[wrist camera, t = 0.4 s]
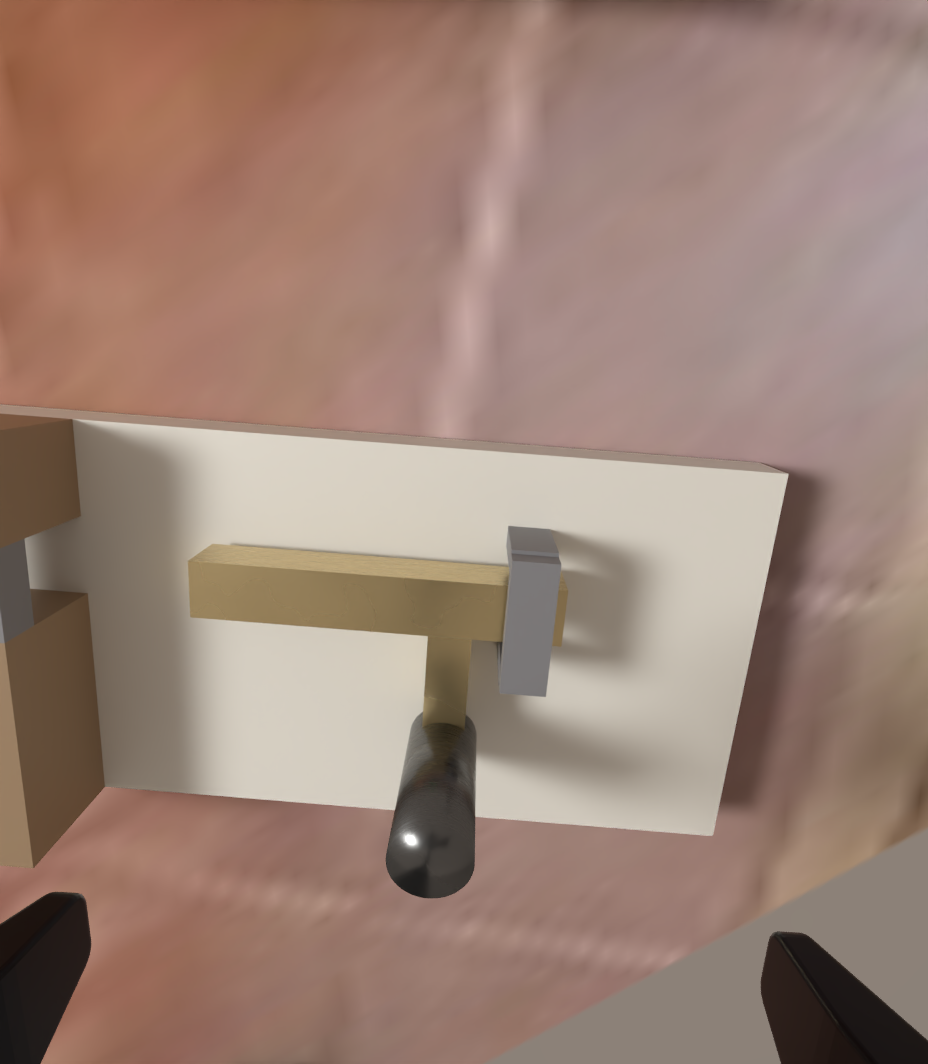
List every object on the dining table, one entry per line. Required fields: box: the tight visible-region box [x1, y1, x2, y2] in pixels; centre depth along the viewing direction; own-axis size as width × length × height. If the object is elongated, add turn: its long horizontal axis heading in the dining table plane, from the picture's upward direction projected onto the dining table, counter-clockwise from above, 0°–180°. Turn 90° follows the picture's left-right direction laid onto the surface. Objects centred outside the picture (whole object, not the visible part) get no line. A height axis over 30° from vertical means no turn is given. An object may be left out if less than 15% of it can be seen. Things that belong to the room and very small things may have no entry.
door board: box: [0, 404, 789, 868], centre depth 19 cm, size 12×24×6 cm, turn 86°
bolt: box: [188, 544, 568, 898], centre depth 17 cm, size 6×10×6 cm, turn 86°
